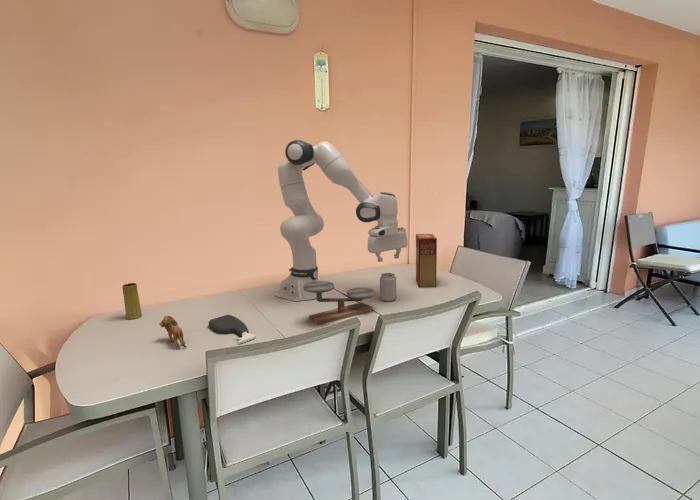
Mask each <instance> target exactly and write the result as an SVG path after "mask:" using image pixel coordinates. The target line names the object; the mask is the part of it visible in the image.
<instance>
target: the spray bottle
mask: <svg viewBox="0 0 700 500" xmlns="http://www.w3.org/2000/svg"><path fill="white" fill-rule="evenodd" d="M208 327H209V328H210V329H211V330H212V331H214V332H215V333H216V334H219V335H228V334H236V335H237V336H239V337H233V340H237V344H238V345H240V344H244V343H246V342H248V341H251V340H254V339H256V338H257V335H256V334H255V333H249V329H248V327H247V325H246V324H245V323H244V322H243V320H241V319H240V318H237V317H235V316H233V315H231V314H225V315H222V316H218V317H215V318H212V319H210V320H209V321H208Z"/></svg>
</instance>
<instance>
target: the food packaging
mask: <svg viewBox="0 0 700 500" xmlns="http://www.w3.org/2000/svg"><path fill="white" fill-rule="evenodd" d="M437 241H438V238H437V237H436V236H435V235H434V234H433V233H416V234H415V282H416V285H417V287H418V288H437V263H438V262H437V255H438V254H437V252H438V251H437V250H438V247H437V246H438V244H437V243H438V242H437Z"/></svg>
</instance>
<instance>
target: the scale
mask: <svg viewBox="0 0 700 500" xmlns="http://www.w3.org/2000/svg"><path fill="white" fill-rule="evenodd" d="M303 287H304V290H305V291H307V292H311V293H316V296H317V298H316V301H317V302H318V303H329V302H330V303H334V302H337V308H333V309H328V310H324V311H320V312H318V313H313V314H309V315H308V320H310V321H311V322H312V323H314V324H316V325H317V326H321V325H324V324H329V323H332V322H335V321H339V320H344V319H347V318H350V317H354V316H357V315H362V314H365V313H369V312H372V311H373V306H371V305H369V304H366V303H365V302H363V300H366V299H371V298H373V297H375V295H376V291H375V290H374V289H372V288H367V287H353V288H350V289H348V290H347V291H346V296H347V297H331V298H330V297H328V298H323V293H327V292H331V291H332V290H334V289H335V284H334V283H333V282H331V281H326V280H318V281H315V282H310V283H307V284H305V285H304V286H303ZM345 302H355V303H353V304H348V305H345Z"/></svg>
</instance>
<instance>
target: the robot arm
mask: <svg viewBox="0 0 700 500" xmlns="http://www.w3.org/2000/svg"><path fill="white" fill-rule="evenodd" d="M284 150H285V153H284V155H285V157H286V159H287V160H285V161H283V162H281V163H280V164H279V166H278V167H277V175H278V181H279V182H278V183H279V187H280V191H281V195H282V198H283V203H284V205H285V207H287V208H288V209H290V211H291V212H292V213H293V216H290V217H287V218H286V219H285V220H283V221H282V222H281V224H280V226H279V227H280V228H279V230H280V234H281V236H282V237H283V239H285V240H286V241H287V242H288V244H289V247H290V251H291V254H292V255H291V256H292V267H290V268H289V269H288V272H290V275H288V276H286V278H285V279H283V280H282V281H281V282H280V285H279V290H277V291H276V292H275V293H274V296H275V297H277V298H282V299H285V300H289V301H292V302H301V301H309V300H315V299H317V296H316V293H311V292H307V291H305V290H304V287H303V286H304V285H305V284H307V283H310V282H315V281H319V279H318V278H319V269H318V265H317V264H318V263H317V262H318V261H317V251H316V249H315V247H313V246H312V244H311V241H310V237H313V236H316V235H318V234H319V233H320V232H322V231H323V229H324V226H325V222H324V219H323V216H321V215H320V214H319V213H318V212H317V210H315V208H314V207H313V205H312V203H311V201H310V198H309V196H308V192H307V188H306V184H305V180H304V177H303V171H306V170H308V169H309V168H310V167H312V166H314V165H315V164H316V165H317V166H318V167H319V168H320V170H321V171H322V172H323V174H324V175H325V177H327V179H328V180H329V181H331V183H332V184H335V185H338V186H341V187H343V188H346V189H347V190H348V191H350V193H351V194H352V195H353V196H354V197H355V199H356V200H357V201H358V202H359V204H357V206H356V209H355V215H356V218H357V219H358V221H361V223H371V222H375V221H376V222H377V225H375V226H374V227H372V228H370V229H369V230H368V232H367V234H368V238H367V251H368V252H369V253H370V254H375V255H374V256H376V258H377V262H379V263H382V262H383V257H381V253H382V252H383V253H384V252H387V251H393V250H394V251H396V252H395V253H394V255H393V258H394V259H396V260H397V259H399V258H400V253H401V252H402V249H404V248H407V246H408V243H409V242H408V237H407V236H408V235H407V229H406V228H404V226H403V227H399V223H398V222H399V221H398V214H399V213H398V212H399V211H398V210H399V209H398V201H397V197H396V195H395V194H393V193H391V192H378V193H377V194H376V195H375V196H373V195H372V194H371V193H370V192H369V191H368V189H367V188H366V187H365V186H364V185H363V183H362V182H361V181H360V180H359V178H358V177H357V176H356V174H355V172H354V171H353V170H352V168H351V166H350V165H349V163H348V162H347V160H346V159H345V158H344V156H343V155H342V154H341V153H340V151H339V150H338V149H337V148H336V147H335V146H334V145H333V144H332V143H331V142H329V141H326V140H325V141H320V142H319V143H317V144H316V145H313V144H311V143H310V142H307V141H304V140H301V139H299V140H298V139H295V140H291V141H290V142H289V143H288V144H287V145H286V147H285V149H284Z"/></svg>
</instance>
